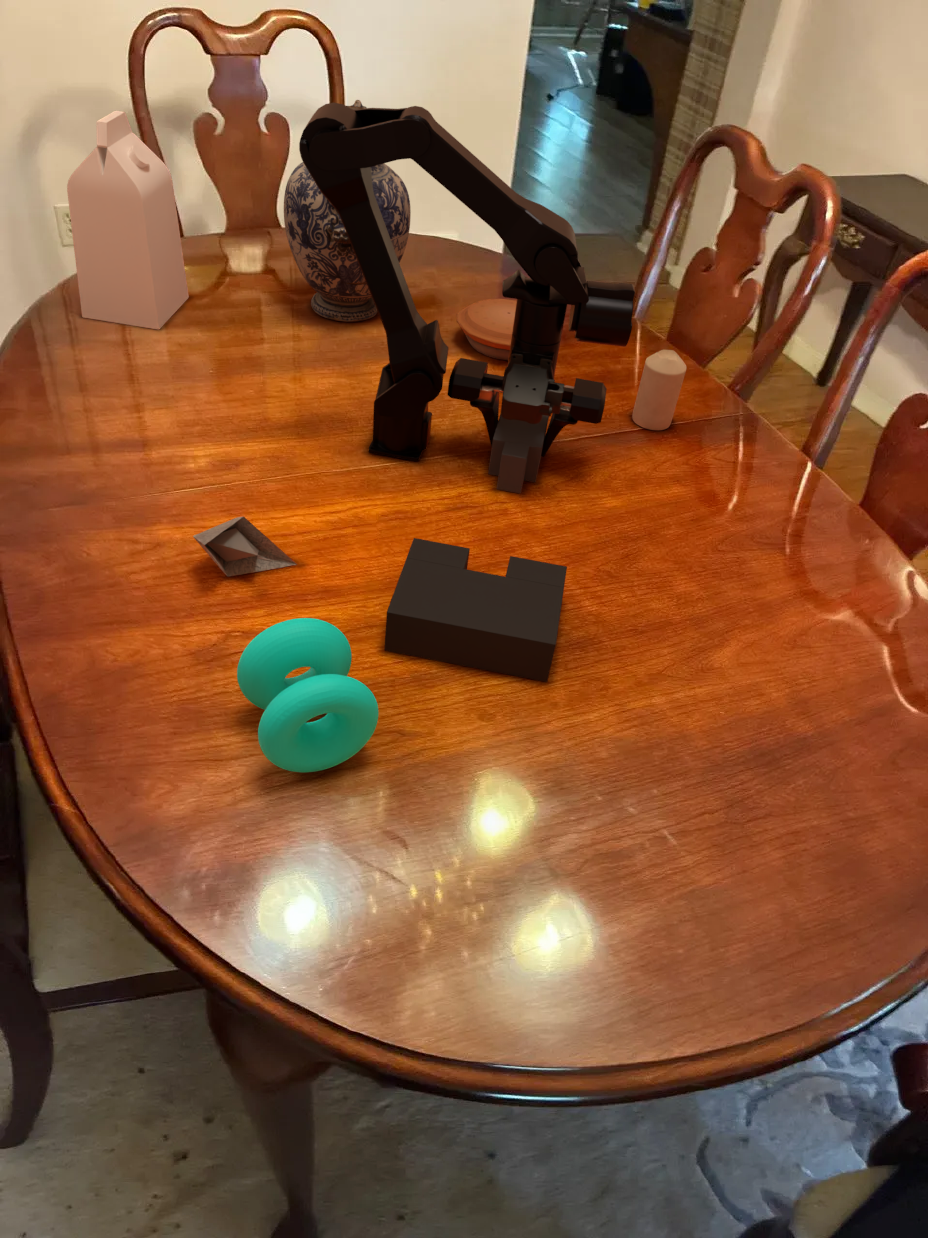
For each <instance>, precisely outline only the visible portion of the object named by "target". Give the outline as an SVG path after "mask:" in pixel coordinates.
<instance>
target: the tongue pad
mask: <svg viewBox="0 0 928 1238" xmlns="http://www.w3.org/2000/svg"><path fill="white" fill-rule="evenodd" d="M549 418H550V416H547V415H542V419H541V421H540V422H539V423H537V424H530V423H528V422H525V421H520V420H514V419H513V420H508V419H505V418H503V417H502V415H501V413H500V414H499V416H498V424H497V427H496V431H495V434H494V437H493V442H492V447H491V450H490V457H489V465H488V471H487V474H488V475H491V476H497V482H496V483H497V484H496V490H497V491H498V490H499V491H504V492H510V493H515V494H522V489H523V485H524V482H529V483H537V478H538V473H539V468H540V464H541V460H542V457H541V453H542V448H543V443H544V438H545V435H546V432H547V429H548V425H549Z"/></svg>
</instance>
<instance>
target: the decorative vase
mask: <svg viewBox="0 0 928 1238" xmlns="http://www.w3.org/2000/svg"><path fill="white" fill-rule="evenodd" d="M346 106H347V107H349V108H351V109H353V110H355V109H364V108H368V107H367V106H364V105H363V104H362V101H361V100H360V99H355V101H354V103H353V104H352V105H346ZM370 168H371V176H372V185H373V192H374V196H375V198H376V201H377V204H378V206H379V209H380V212H381V215H382V217H383V220H384V223H385V226H386V228H387V231H388V234H389V236H390V239H391V242H392V245H393V247H394V250H395V253H396V255H397V258H398V261H399V264H400V263H401V260H402V259H403V256H404V254H405V250H406V247H407V244H408V240H409V235H410V228H411V212H412V211H411V199H410V194H409V191H408V188H407V186H406V184H405V182H404V181H403V179H402V178H401V176H400V175H398V173H396V172H395V170H393V169H392V168H391V167H390V166H389V165H387V163H384V164H380V165H376V166H372V167H370ZM283 222H284V223H283V224H284V228H285V234H286V239H287V242H288V245H289V248H290V251H291V254H292V257H293V259H294V261H295V264H296V266H297V268H298V270H299V272H300V273H301V275H302V277H303V278H304V280H305V282H306V283H307V284H308V285H309V286H310V288H311V289H313V290H314V291H315V292H316V293H314V294H313V295H312V297H311V300H310V306H311V309H312V311H313V312H314V313H316V314H317V315H319V316H321V317H322V318H325V319H327V320H331V321H336V322H342V323H343V322H344V323H357V322H364V321H367V320H371V319H372V318H374V317H375V316H376V315H378V314H377V313H378V311H377V309H376V306H375V304H374V301H373V299H372V296H371V293H370V291H369V288H368V286H367V283H366V281H365V278H364V276H363V273H362V271H361V268H360V266H359V263H358V261H357V258H356V256H355V253H354V251H353V248H352V245H351V243H350V240H349V238H348V235H347V233H346V230H345V228H344V225H343V223H342V220H341V218H340V215H339V213H338V212H337V210H336V209H335V208H334V206H333V205H332V204H331V203H330V202H329V201H328V199H327V198H326V197H325V196H324V195H323V194H322V192H321V191H320V190H319V188H318V186H317V185H316V183H315V181H314V180H313V178H312V176H311V175H310V173H309V171H308V170H307V168H306V166H305V165H304V163H303V161H302V162H300V163H299V164H298V165H297V166H296V167H295V168H294V169H293V171H291V174H290V175H289V178H288V179H287V182H286V184H285V189H284V196H283Z"/></svg>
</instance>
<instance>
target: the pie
mask: <svg viewBox="0 0 928 1238" xmlns="http://www.w3.org/2000/svg"><path fill="white" fill-rule="evenodd" d="M516 304H517V299H511V298H489V299H488V298H487V299H482V300H479V301H476V302H474V303H471V304H468V305H466V306H465V307H463V308H462V309H460V310H459V311H458V312H457V313H456V323H457V324H458V326H459V327H460V329H461V330H462V332H463V333H464V335H465V337H466V339H467V341H468V343H469V345H470V346H471V347H472V349H474V351H476V352H478V353H479V354H482V355H484V356H485V357H489V358H492V359H496V360H502V361H508V358H509V352H510V345H511V338H512V331H513V324H514V317H515V310H516Z"/></svg>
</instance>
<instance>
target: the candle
mask: <svg viewBox="0 0 928 1238" xmlns="http://www.w3.org/2000/svg"><path fill="white" fill-rule="evenodd" d="M686 372H687V365H686V363H685V362H684V360H683V359H682V358H681V356H680V355H679V354H678V353H677V352H676V351H675V350H673V349H661V350H659V351H656V352H655V353H653V354H651V355H649V356H648V357H646V359H645V362H644V365H643V370H642V374H641V378H640V382H639V386H638V389H637V394H636V398H635V402H634V406H633V410H632V414H631V419H632V421H633V422H634V424H636V425H637V426H639V427H641V428H643V429H646V430H650V431H663V430H666V429H669V427H670V426H671V424H672V422H673V418H674V415H675V411H676V407H677V404H678V401H679V396H680V394H681V390H682V386H683V383H684V379H685V376H686Z"/></svg>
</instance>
